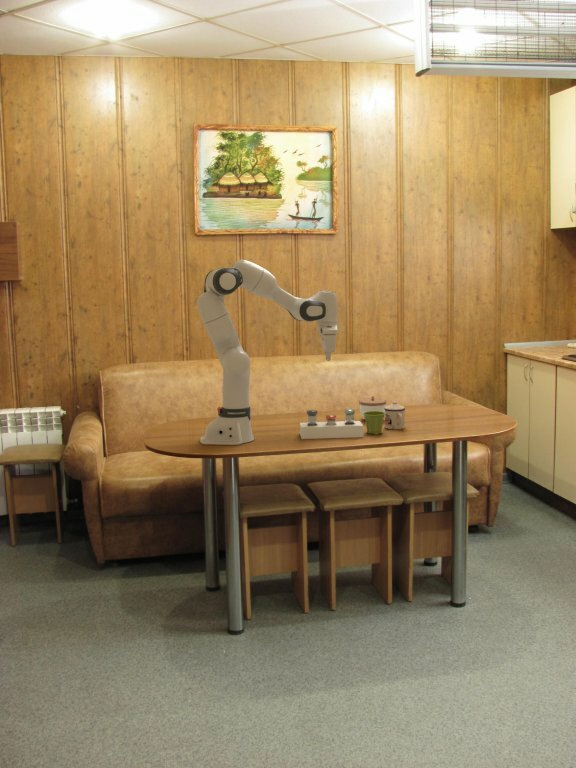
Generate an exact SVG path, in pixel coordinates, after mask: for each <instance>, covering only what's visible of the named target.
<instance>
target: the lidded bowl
mask: <svg viewBox="0 0 576 768" xmlns="http://www.w3.org/2000/svg"><path fill="white" fill-rule="evenodd" d="M358 403H359V412H360V415H361V417H362V418H363V419H364V420H365V417H364V414H363V413H364V412H369V411H381V412H385V409H384V408H385V407H386V406H387V400H386V399H383V398H375V395H373V396H371V398H362V399H359V401H358Z"/></svg>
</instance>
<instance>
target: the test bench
mask: <svg viewBox="0 0 576 768" xmlns="http://www.w3.org/2000/svg"><path fill="white" fill-rule="evenodd" d="M299 436H300V439H301V440H316V439H317V440H319V439H320V440H321V439H349V438H364V425H363V424H362V422H361V421H360V420H354V424H353V425H346V421H343V420H341V421H335V425H327V421H317V426H308V421H307V422H299Z"/></svg>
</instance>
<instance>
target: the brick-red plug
mask: <svg viewBox="0 0 576 768" xmlns="http://www.w3.org/2000/svg"><path fill="white" fill-rule="evenodd" d="M325 419H326V422H327V425H335V422H336V419H337V415H336V414H327V415H325Z"/></svg>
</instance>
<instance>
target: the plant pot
mask: <svg viewBox="0 0 576 768" xmlns="http://www.w3.org/2000/svg"><path fill="white" fill-rule="evenodd" d="M363 414H364V417H365V419H364V420H365V427H366V431H367V434H373V435H379V434H381V433H382V430H383V422H384V419H385V412H381V411H369V412H364V413H363Z"/></svg>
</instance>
